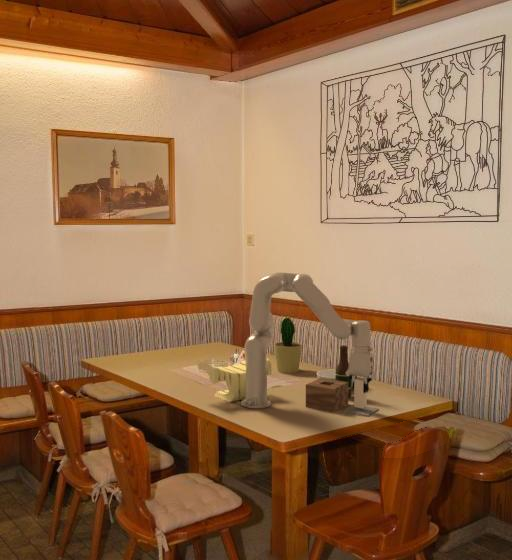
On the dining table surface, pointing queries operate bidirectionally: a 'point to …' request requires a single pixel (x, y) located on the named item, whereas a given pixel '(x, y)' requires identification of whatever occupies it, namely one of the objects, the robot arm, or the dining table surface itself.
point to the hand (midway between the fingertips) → (360, 391)
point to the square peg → (359, 393)
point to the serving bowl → (328, 374)
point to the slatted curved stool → (230, 379)
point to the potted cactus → (287, 349)
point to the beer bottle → (343, 369)
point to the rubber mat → (360, 410)
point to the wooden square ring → (327, 394)
